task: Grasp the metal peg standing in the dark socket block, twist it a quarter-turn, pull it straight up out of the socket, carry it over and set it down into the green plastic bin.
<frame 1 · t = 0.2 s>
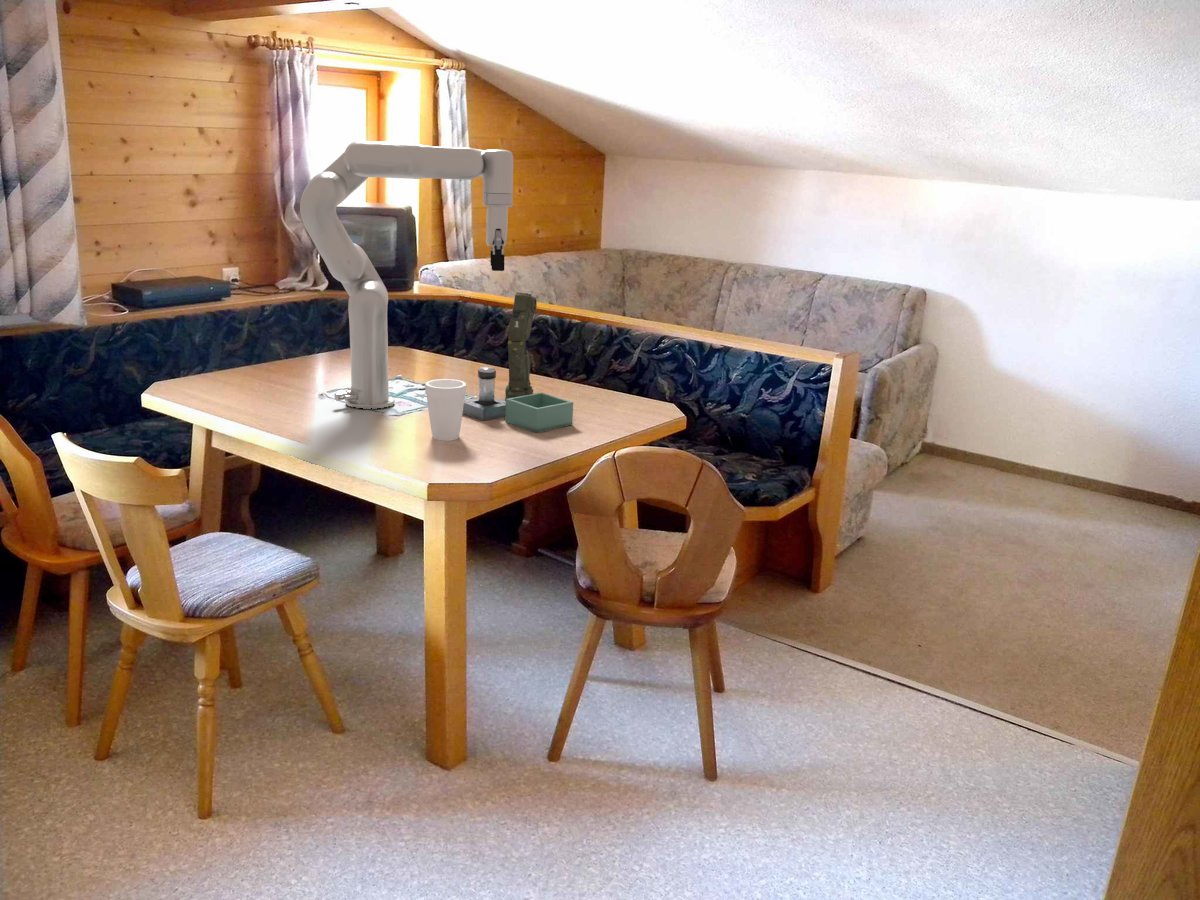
hand: (497, 268, 260), 36 cm above the table, tool pointing down, fingers open, 9 cm apart
bin: (538, 423, 254), on the table
metal peg: (486, 391, 259), in the socket block
mechanical leg: (519, 398, 279), on the table
foam cup: (445, 437, 239), on the table
socket block: (486, 413, 261), on the table
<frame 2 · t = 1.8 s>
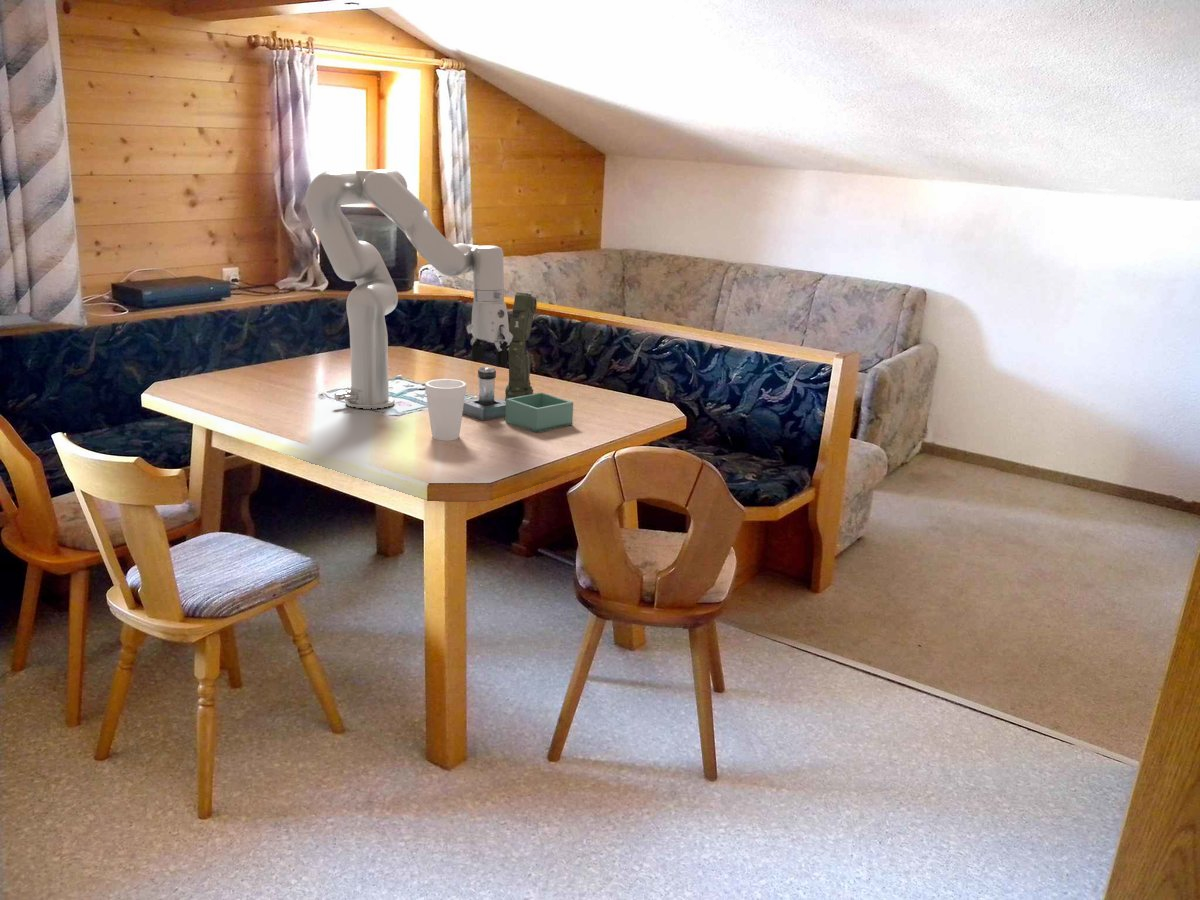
hand: (489, 362, 257), 14 cm above the table, tool pointing down, fingers open, 9 cm apart
nothing on the table moved.
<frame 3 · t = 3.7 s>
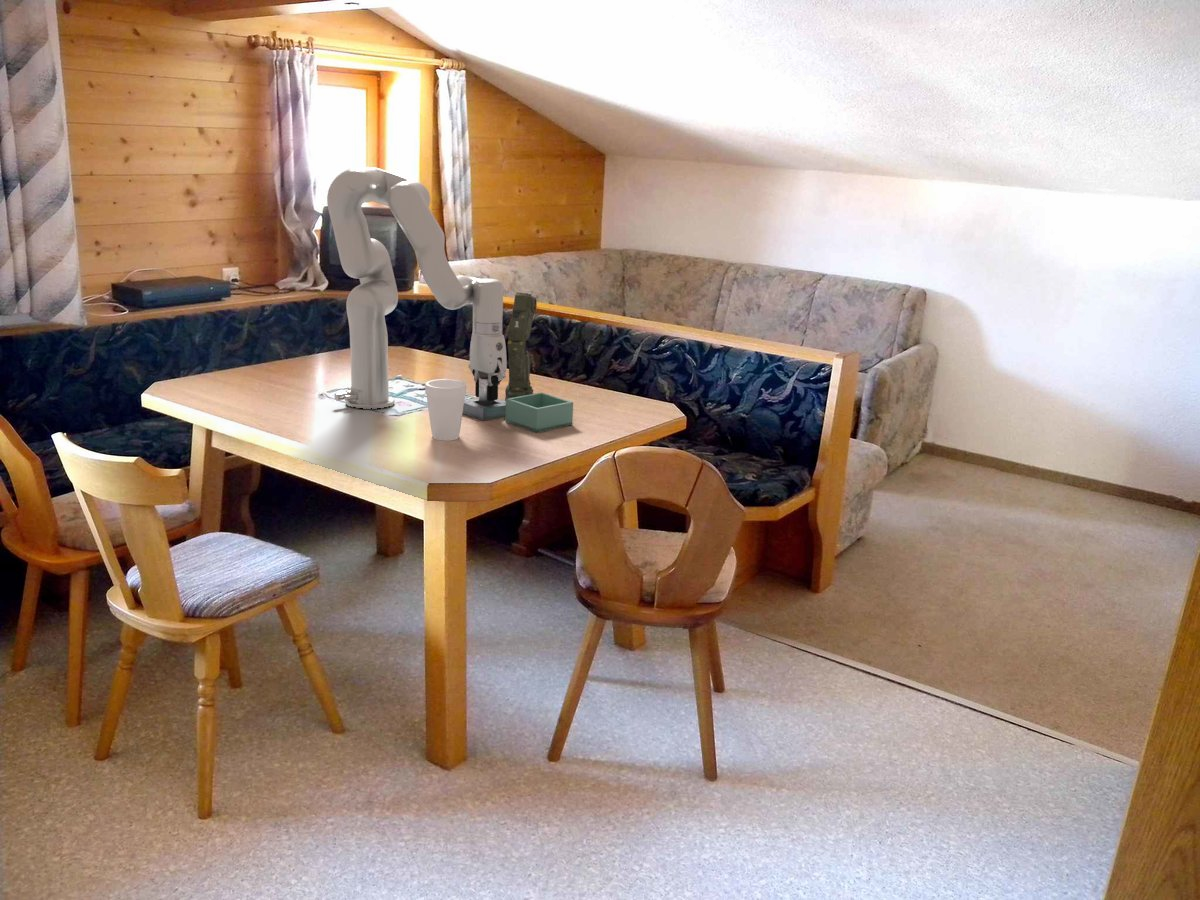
hand: (486, 397, 260), 4 cm above the table, tool pointing down, fingers closed on metal peg, 4 cm apart
metal peg: (486, 391, 259), in the socket block, touching gripper
everything else where it was.
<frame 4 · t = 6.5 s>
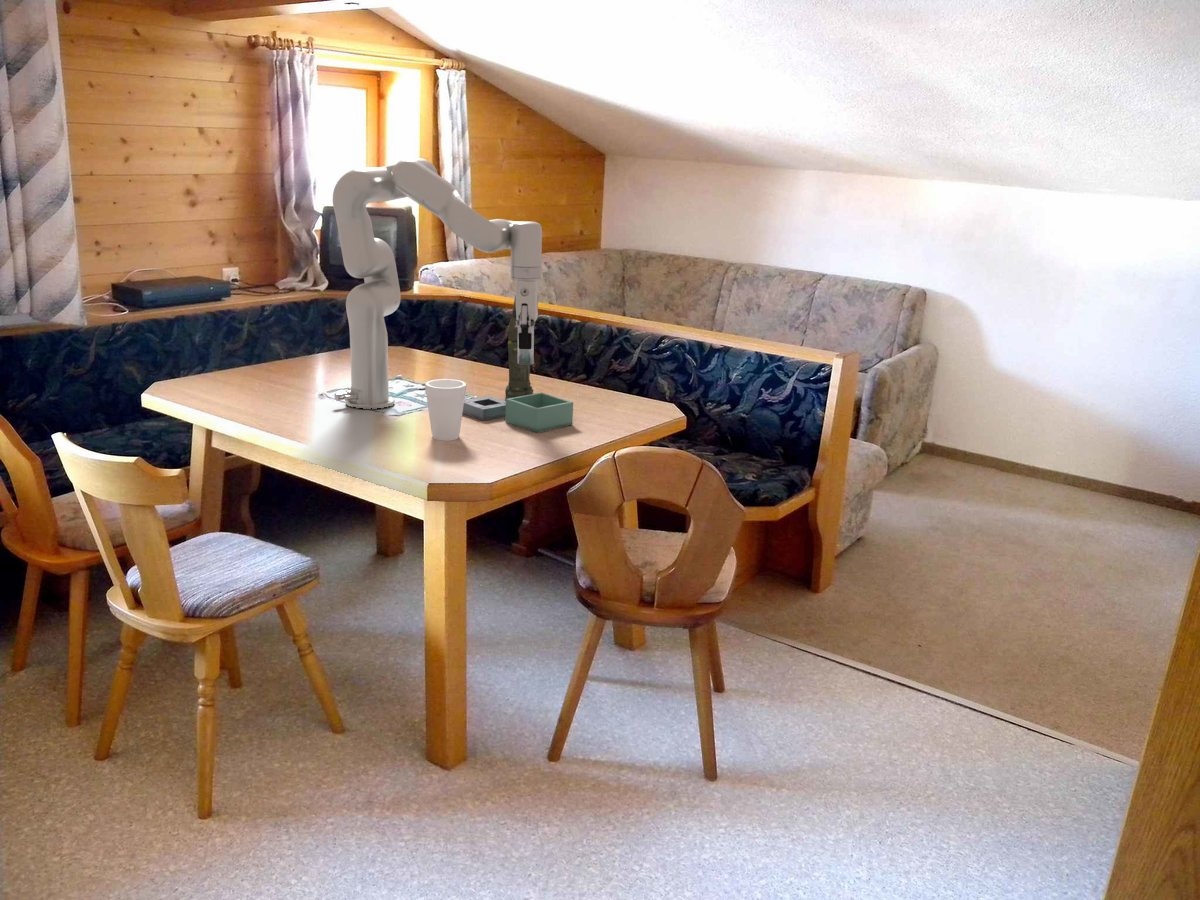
hand: (525, 346, 251), 19 cm above the table, tool pointing down, fingers closed on metal peg, 4 cm apart
metal peg: (525, 339, 250), point 21 cm above the table, touching gripper
everything else where it was.
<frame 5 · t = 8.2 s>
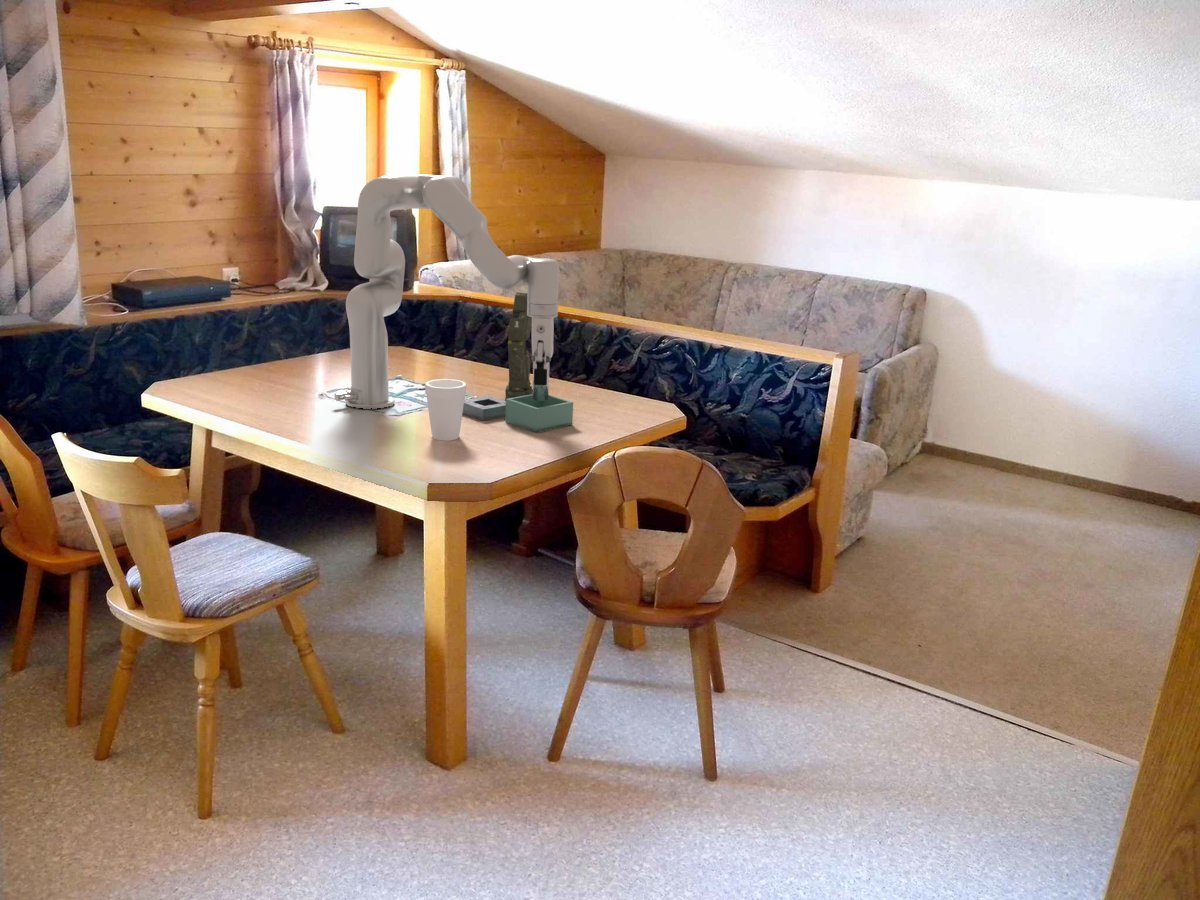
hand: (540, 382, 251), 11 cm above the table, tool pointing down, fingers closed on metal peg, 4 cm apart
metal peg: (541, 375, 251), point 12 cm above the table, touching gripper
everything else where it was.
when the fingers open (7 cm above the table, at t = 9.6 s): metal peg drops 2 cm, resting on bin.
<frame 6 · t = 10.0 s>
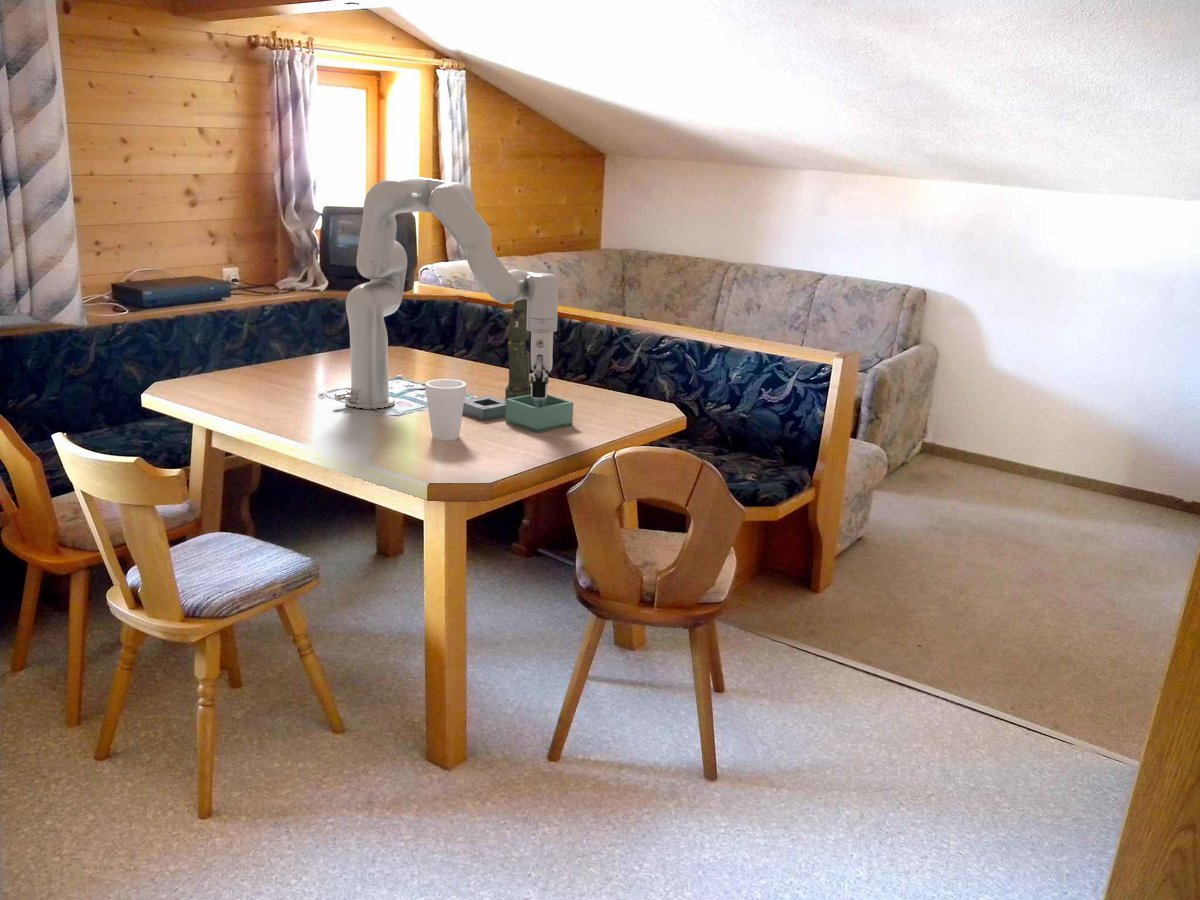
hand: (539, 392, 252), 8 cm above the table, tool pointing down, fingers open, 8 cm apart
metal peg: (539, 397, 252), in the bin, point 7 cm above the table
everything else where it was.
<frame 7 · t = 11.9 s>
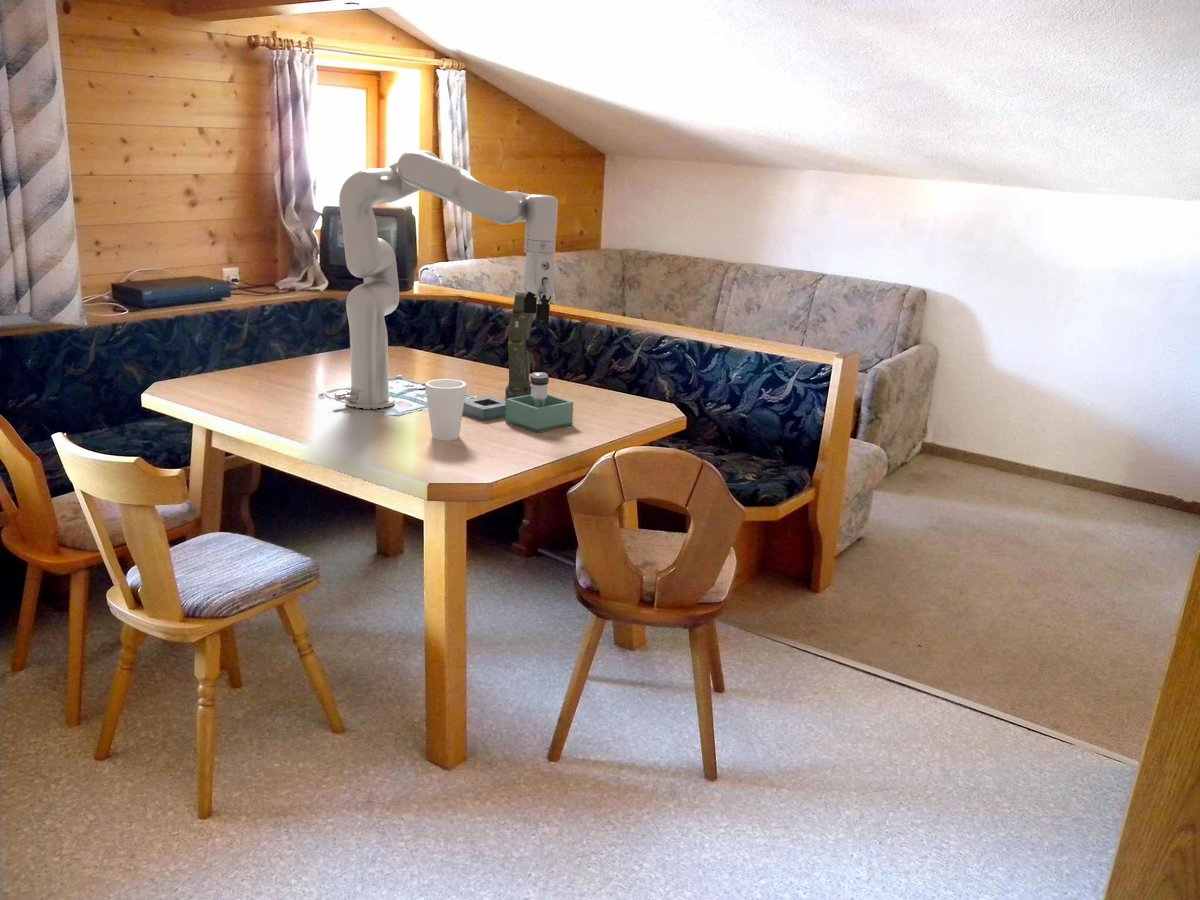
hand: (535, 316, 250), 27 cm above the table, tool pointing down, fingers open, 9 cm apart
nothing on the table moved.
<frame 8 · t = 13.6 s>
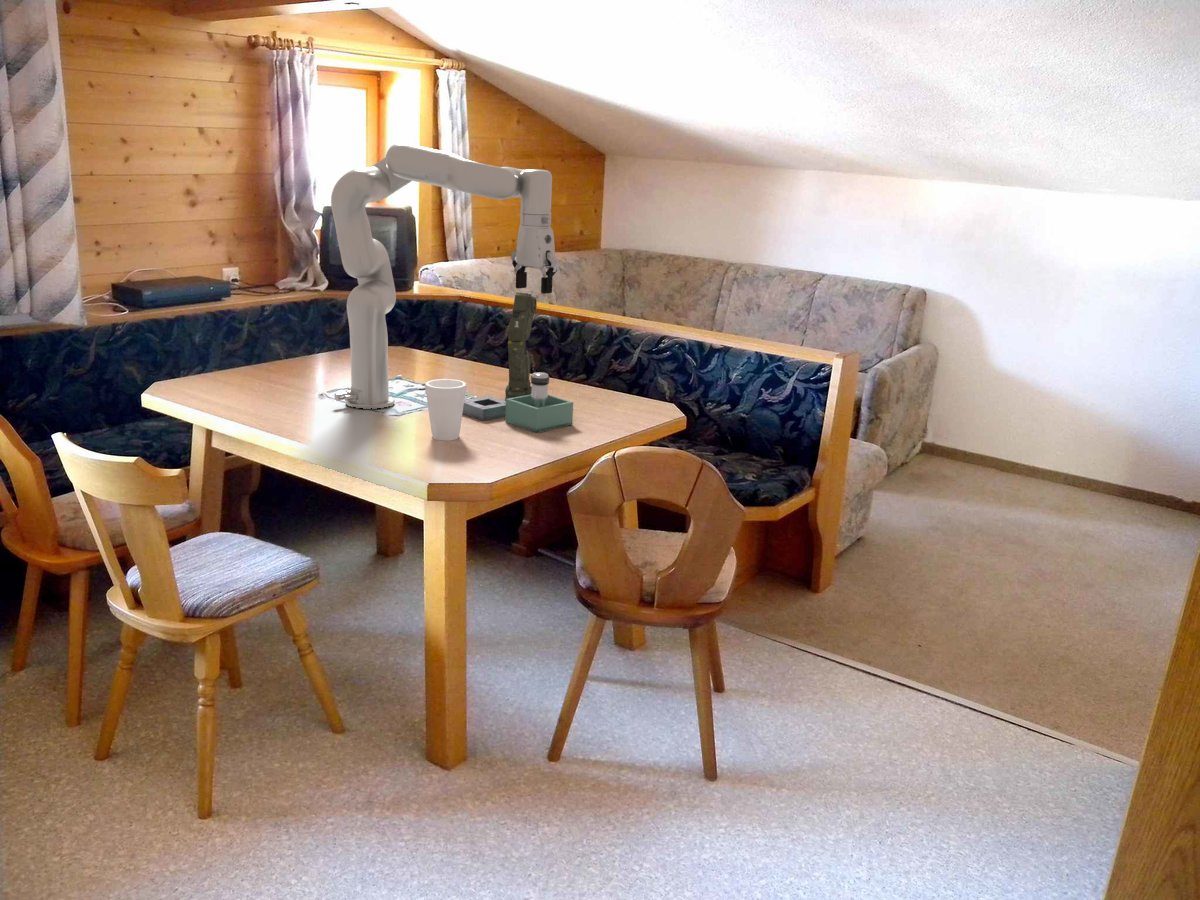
hand: (533, 290, 253), 32 cm above the table, tool pointing down, fingers open, 9 cm apart
nothing on the table moved.
at the end: metal peg inside the target area on the bin (0.1 cm from its centre), point 6.8 cm above the bin's base; the gripper is holding nothing; metal peg touching bin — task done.
